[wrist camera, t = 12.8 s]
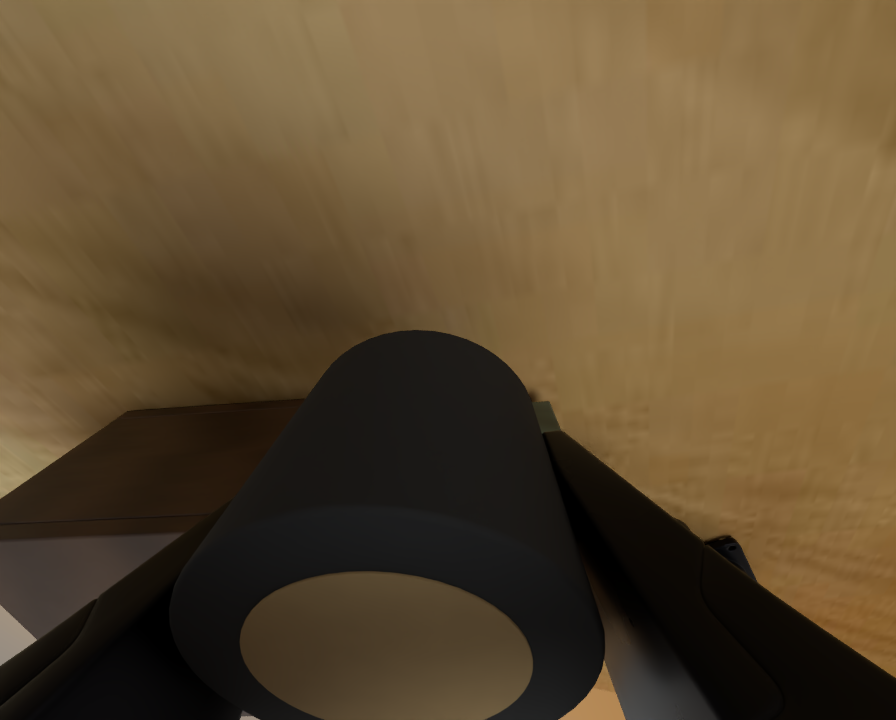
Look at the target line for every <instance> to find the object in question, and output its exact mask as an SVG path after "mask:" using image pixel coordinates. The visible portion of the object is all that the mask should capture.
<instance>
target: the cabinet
mask: <svg viewBox="0 0 896 720" xmlns="http://www.w3.org/2000/svg"><path fill="white" fill-rule="evenodd" d="M304 400H305V399H297V400H282V401H268V402H253V403H239V404H224V405H210V406H196V407H181V408H167V409H152V410H138V411H127V412H126V413H124V414H123V415H121V416H120V417H118V418H117V419H116V420H114V421H113V422H111V423H110V424H108V425H107V426H105V427H104V428H102V429H101V430H100V431H98V432H97V433H95V434H94V435H92V436H91V437H89V438H88V439H87V440H85V441H84V442H82V443H81V444H79V445H78V446H76V447H75V448H74V449H72V450H71V451H69V452H68V453H66V454H65V455H63V456H62V457H61V458H59V459H58V460H56V461H55V462H53V463H52V464H50V465H49V466H47V467H46V468H45V469H43V470H42V471H40V472H39V473H37V474H36V475H34V476H33V477H32V478H30V479H29V480H27V481H26V482H24V483H23V484H21V485H20V486H19V487H17V488H16V489H14V490H13V491H11V492H10V493H8V494H7V495H6V496H4V497H3V498H1V499H0V605H1V606H2V607H3V608H4V609H5V610H6V611H8V612H9V613H10V614H11V615H12V616H13V617H14V618H15V619H16V620H17V621H18V622H19V623H20V624H21V625H22V626H23V627H24V628H25V629H27V630H28V631H29V632H30V633H31V634H32V635H33V636H34V637H35V638H36V639H37V640H38V639H40V638H41V637H42V636H44V635H45V634H47V633H48V632H49V631H51V630H52V629H53V628H55V627H56V626H58V625H59V624H60V623H62V622H63V621H65V620H66V619H67V618H69V617H70V616H72V615H73V614H74V613H76V612H77V611H78V610H80V609H81V608H82V607H84V606H85V605H86V604H88V603H89V602H91V601H92V600H93V599H98V597H99V596H100V594H102V593H103V592H104V591H106V590H107V589H109V588H110V587H111V586H113V585H114V584H115V583H117V582H118V581H119V580H121V579H122V578H124V577H125V576H126V575H128V574H129V573H130V572H132V571H133V570H134V569H136V568H137V567H139V566H140V565H141V564H143V563H144V562H145V561H147V560H148V559H149V558H151V557H152V556H154V555H155V554H156V553H158V552H159V551H160V550H162V549H163V548H164V547H166V546H167V545H169V544H170V543H171V542H173V541H174V540H175V539H177V538H178V537H179V536H181V535H182V534H184V533H185V532H186V531H188V530H189V529H190V528H192V527H193V526H194V525H196V524H197V523H199V522H200V521H201V520H203V519H204V518H205V517H207V516H208V515H209V514H211V513H212V512H214V511H215V510H216V509H218V508H219V507H220V506H222V505H223V504H224V503H226V502H227V501H229V500H230V499H231V498H233V497H234V496H235V495H236V494H237V493H238V492H239V490H240V489H241V488H242V486H243V485H244V483H245V482H246V481H247V479H248V478H249V476H250V475H251V474H252V472H253V471H254V470H255V468H256V467H257V465H258V464H259V463H260V461H261V460H262V458H263V457H264V456H265V454H266V453H267V452H268V450H269V449H270V447H271V446H272V445H273V443H274V442H275V441H276V439H277V438H278V436H279V435H280V434H281V432H282V431H283V429H284V428H285V427H286V425H287V424H288V423H289V421H290V420H291V418H292V417H293V416H294V414H295V413H296V411H297V410H298V409H299V407H300V406H301V405H302V403H303V402H304ZM241 716H252V715H250V714H248V713H247V712H245V711H243V712H242V715H241Z"/></svg>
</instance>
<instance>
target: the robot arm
mask: <svg viewBox="0 0 896 720" xmlns="http://www.w3.org/2000/svg"><path fill="white" fill-rule="evenodd" d="M542 436H543V439H544V442H545V445H546V448H547V451H548V454H549V457H550V461H551V464H552V467H553V470H554V473H555V476H556V479H557V482H558V486H559V489H560V492H561V495H562V498H563V501H564V504H565V507H566V511H567V514H568V517H569V520H570V523H571V526H572V529H573V532H574V536H575V539H576V542H577V545H578V548H579V551H580V554H581V557H582V561H583V564H584V567H585V570H586V573H587V576H588V579H589V582H590V586H591V589H592V592H593V595H594V598H595V601H596V604H597V607H598V611H599V614H600V617H601V621H602V624H603V627H604V631H605V656H604V661H605V663H606V666H607V669H608V672H609V674H610V677H611V680H612V683H613V685H614V688H615V691H616V694H617V697H618V699H619V702H620V705H621V708H622V710H623V713H624V716H625V719H626V720H896V678H895V677H893V676H892V675H890V674H889V673H887V672H886V671H884V670H883V669H881V668H880V667H878V666H877V665H875V664H874V663H873V662H871V661H870V660H868V659H867V658H865V657H864V656H862V655H861V654H859V653H858V652H856V651H855V650H853V649H852V648H850V647H849V646H847V645H846V644H844V643H843V642H841V641H840V640H838V639H837V638H835V637H834V636H833V635H831V634H830V633H828V632H827V631H825V630H824V629H822V628H821V627H819V626H818V625H816V624H815V623H814V622H812V621H811V620H809V619H808V618H806V617H805V616H804V615H802V614H801V613H799V612H798V611H796V610H795V609H794V608H792V607H791V606H789V605H788V604H786V603H785V602H784V601H782V600H781V599H779V598H778V597H776V596H775V595H774V594H772V593H771V592H769V591H768V590H767V589H765V588H764V587H763V586H761V585H760V584H759V583H757V580H756V578H755V576H754V574H753V572H752V570H751V568H750V565H749V563H748V561H747V559H746V557H745V555H744V553H743V551H742V548H741V546H740V545H739V543H738V542H737V541H736V540H735V539H734V538H726V539H723V540H720V541H717V542H714V543H711V544H708V545H705V546H704V542H703V541H702V540H701V539H700V538H699V537H697V536H696V535H695V534H693V533H692V532H691V531H690V530H688V529H687V528H686V527H685V526H683V525H682V524H681V523H679V522H678V521H677V520H676V519H674V518H673V517H672V516H671V515H669V514H668V513H667V512H665V511H664V510H663V509H662V508H660V507H659V506H658V505H656V504H655V503H654V502H653V501H651V500H650V499H649V498H648V497H646V496H645V495H644V494H642V493H641V492H640V491H639V490H637V489H636V488H635V487H633V486H632V485H631V484H630V483H628V482H627V481H626V480H625V479H623V478H622V477H621V476H619V475H618V474H617V473H616V472H614V471H613V470H612V469H610V468H609V467H608V466H607V465H605V464H604V463H603V462H602V461H600V460H599V459H598V458H596V457H595V456H594V455H593V454H591V453H590V452H589V451H588V450H586V449H585V448H584V447H582V446H581V445H580V444H579V443H577V442H576V441H575V440H573V439H572V438H571V437H570V436H568V435H567V434H566V433H565V432H563V431H561V430H556V431H548V432H543V433H542ZM235 496H236V495H235ZM235 496H234V497H235ZM234 497H233V498H231V499H230V500H229V501H227V502H226V503H224V504H223V505H222V506H220V507H219V508H218V509H216V510H215V511H214V512H212V513H211V514H209V515H208V516H207V517H205V518H204V519H203V520H201V521H200V522H199V523H197V524H196V525H194V526H193V527H192V528H190V529H189V530H188V531H186V532H185V533H184V534H182V535H181V536H179V537H178V538H177V539H175V540H174V541H173V542H171V543H170V544H169V545H167V546H166V547H164V548H163V549H162V550H160V551H159V552H158V553H156V554H155V555H154V556H152V557H151V558H149V559H148V560H147V561H145V562H144V563H143V564H141V565H140V566H139V567H137V568H136V569H134V570H133V571H132V572H130V573H129V574H128V575H126V576H125V577H124V578H122V579H121V580H119V581H118V582H117V583H115V584H114V585H113V586H111V587H110V588H109V589H107V590H106V591H104V592H103V593H102V594H100V596H99V597H98V599H93V600H92V601H91V602H89V603H88V604H86V605H85V606H84V607H82V608H81V609H80V610H78V611H77V612H76V613H74V614H73V615H72V616H70V617H69V618H67V619H66V620H65V621H63V622H62V623H60V624H59V625H58V626H56V627H55V628H53V629H52V630H51V631H49V632H48V633H47V634H45V635H44V636H42V637H41V638H40V639H38V640H37V641H35V642H34V643H33V644H31V645H30V646H28V647H27V648H26V649H24V650H23V651H21V652H20V653H18V654H17V655H15V656H14V657H13V658H11V659H10V660H8V661H7V662H5V663H4V664H2V665H1V666H0V720H240V718H241V715H242V712H243V710H241V709H239V708H238V707H236V706H235V705H233V704H232V703H230V702H229V701H227V700H226V699H224V698H223V697H221V696H220V695H218V694H217V693H216V692H215V691H214V690H212V689H211V688H210V687H209V686H208V685H206V684H205V683H204V682H203V681H202V680H201V679H200V678H199V677H198V676H197V675H196V674H195V673H194V672H193V671H192V669H191V668H190V667H189V665H188V664H187V662H186V661H185V660H184V658H183V657H182V656H181V654H180V652H179V650H178V648H177V646H176V644H175V642H174V639H173V635H172V632H171V628H170V622H169V606H170V602H171V597H172V593H173V589H174V585H175V583H176V581H177V579H178V577H179V575H180V573H181V571H182V569H183V568H184V566H185V565H186V564H187V562H188V561H189V559H190V558H191V557H192V555H193V554H194V553H195V551H196V550H197V548H198V547H199V546H200V544H201V543H202V541H203V540H204V539H205V537H206V536H207V535H208V533H209V532H210V530H211V529H212V528H213V526H214V525H215V524H216V522H217V521H218V519H219V518H220V517H221V515H222V514H223V512H224V511H225V510H226V508H227V507H228V506H229V504H230V503H231V501H232V500H233V499H234Z"/></svg>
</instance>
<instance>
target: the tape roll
mask: <svg viewBox="0 0 896 720" xmlns="http://www.w3.org/2000/svg"><path fill="white" fill-rule="evenodd" d="M169 622H170V628H171V632H172V635H173V639H174V642H175V644H176V646H177V648H178V650H179V652H180V654H181V656H182V657H183V658H184V660H185V661H186V662H187V664H188V665H189V667H190V668H191V669H192V671H193V672H194V673H195V674H196V675H197V676H198V677H199V678H200V679H201V680H202V681H203V682H204V683H205V684H206V685H208V686H209V687H210V688H211V689H212V690H214V691H215V692H216V693H217V694H218V695H220V696H221V697H223V698H224V699H226V700H227V701H229V702H230V703H232V704H233V705H235V706H236V707H238V708H239V709H241V710H243V711H245V712H247V713H248V714H250V715H252V716H254V717H256V718H258V719H260V720H558V719H560V718H561V717H563V716H564V715H566V714H567V713H568V712H570V711H571V710H572V709H574V708H575V707H576V706H577V705H578V704H579V703H580V702H581V701H582V700H583V699H584V698H585V697H586V696H587V694H588V693H589V692H590V690H591V689H592V688H593V686H594V685H595V683H596V681H597V679H598V677H599V675H600V672H601V670H602V666H603V661H604V656H605V631H604V627H603V624H602V621H601V617H600V614H599V611H598V607H597V604H596V601H595V598H594V595H593V592H592V589H591V586H590V582H589V579H588V576H587V573H586V570H585V567H584V564H583V561H582V557H581V554H580V551H579V548H578V545H577V542H576V539H575V536H574V532H573V529H572V526H571V523H570V520H569V517H568V514H567V511H566V507H565V504H564V501H563V498H562V495H561V492H560V489H559V486H558V482H557V479H556V476H555V473H554V470H553V467H552V464H551V461H550V457H549V454H548V451H547V448H546V445H545V442H544V439H543V436H542V432H541V429H540V426H539V423H538V420H537V417H536V414H535V411H534V407H533V404H532V401H531V398H530V396H529V394H528V392H527V390H526V388H525V386H524V385H523V383H522V382H521V380H520V379H519V378H518V376H517V375H516V374H515V373H514V372H513V370H512V369H511V368H510V367H509V366H508V365H507V364H506V363H505V362H503V361H502V360H501V359H500V358H499V357H497V356H496V355H495V354H493V353H492V352H490V351H488V350H487V349H485V348H484V347H482V346H480V345H478V344H476V343H473V342H471V341H469V340H467V339H464V338H461V337H458V336H454V335H451V334H446V333H441V332H436V331H423V330H411V331H398V332H393V333H388V334H383V335H380V336H377V337H374V338H371V339H368V340H366V341H364V342H362V343H360V344H358V345H356V346H354V347H352V348H351V349H349V350H348V351H346V352H345V353H343V354H342V355H341V356H340V357H339V358H338V359H337V360H335V361H334V362H333V363H332V364H331V365H330V367H329V368H328V369H327V370H326V372H325V373H324V374H323V376H322V377H321V378H320V380H319V381H318V382H317V384H316V385H315V387H314V388H313V389H312V391H311V392H310V393H309V395H308V396H307V398H306V399H305V400H304V402H303V403H302V405H301V406H300V407H299V409H298V410H297V411H296V413H295V414H294V416H293V417H292V418H291V420H290V421H289V423H288V424H287V425H286V427H285V428H284V429H283V431H282V432H281V434H280V435H279V436H278V438H277V439H276V441H275V442H274V443H273V445H272V446H271V447H270V449H269V450H268V452H267V453H266V454H265V456H264V457H263V458H262V460H261V461H260V463H259V464H258V465H257V467H256V468H255V470H254V471H253V472H252V474H251V475H250V476H249V478H248V479H247V481H246V482H245V483H244V485H243V486H242V488H241V489H240V490H239V492H238V493H237V494H236V496H235V497H234V499H233V500H232V501H231V503H230V504H229V506H228V507H227V508H226V510H225V511H224V512H223V514H222V515H221V517H220V518H219V519H218V521H217V522H216V524H215V525H214V526H213V528H212V529H211V530H210V532H209V533H208V535H207V536H206V537H205V539H204V540H203V541H202V543H201V544H200V546H199V547H198V548H197V550H196V551H195V553H194V554H193V555H192V557H191V558H190V559H189V561H188V562H187V564H186V565H185V566H184V568H183V569H182V571H181V573H180V575H179V577H178V579H177V581H176V583H175V585H174V589H173V593H172V597H171V602H170V606H169Z"/></svg>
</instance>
